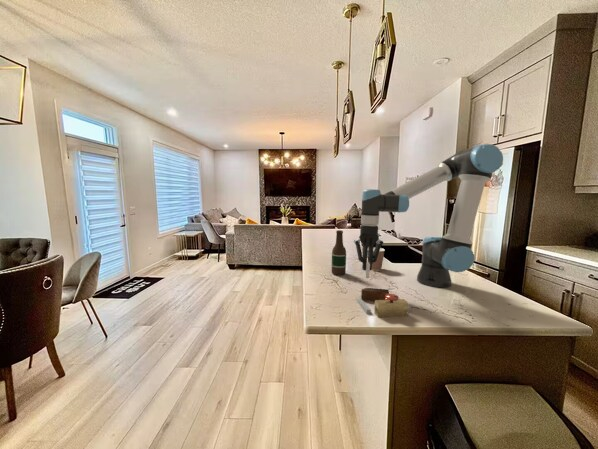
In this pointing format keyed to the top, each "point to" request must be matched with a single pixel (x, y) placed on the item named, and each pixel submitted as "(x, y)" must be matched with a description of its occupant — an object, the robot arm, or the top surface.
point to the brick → (373, 294)
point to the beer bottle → (339, 255)
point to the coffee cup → (378, 260)
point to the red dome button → (391, 306)
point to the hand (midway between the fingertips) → (366, 277)
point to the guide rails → (369, 308)
